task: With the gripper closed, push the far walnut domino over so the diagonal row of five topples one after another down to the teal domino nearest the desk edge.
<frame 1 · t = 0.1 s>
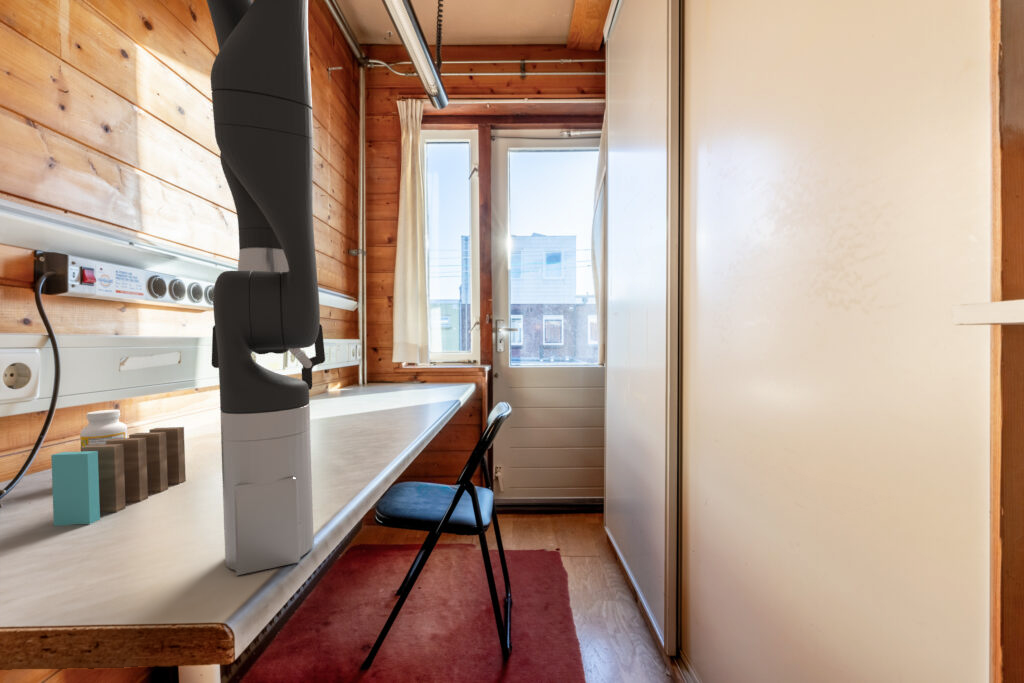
hand: (272, 395, 65), 17 cm above the table, tool pointing down, fingers open, 8 cm apart
domino 1: (168, 483, 81), on the table
domino 3: (128, 500, 73), on the table
supplement bottle: (106, 479, 85), on the table
domino 2: (149, 491, 77), on the table
domino 4: (104, 510, 68), on the table
domino 5: (77, 522, 64), on the table
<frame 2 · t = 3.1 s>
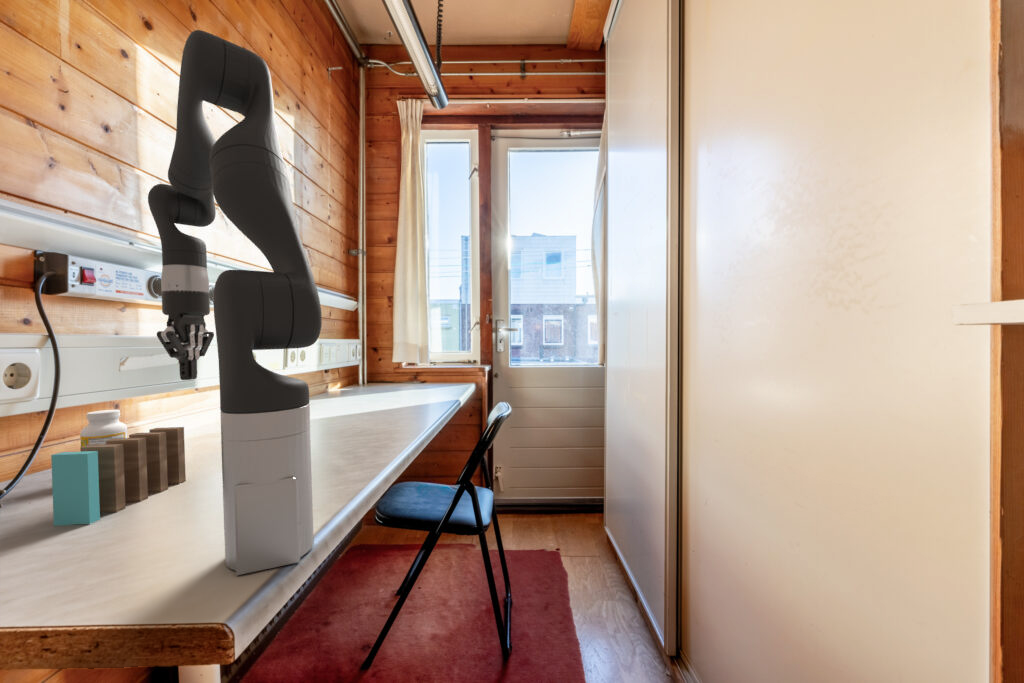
hand: (188, 379, 87), 18 cm above the table, tool pointing down, fingers closed
nothing on the table moved.
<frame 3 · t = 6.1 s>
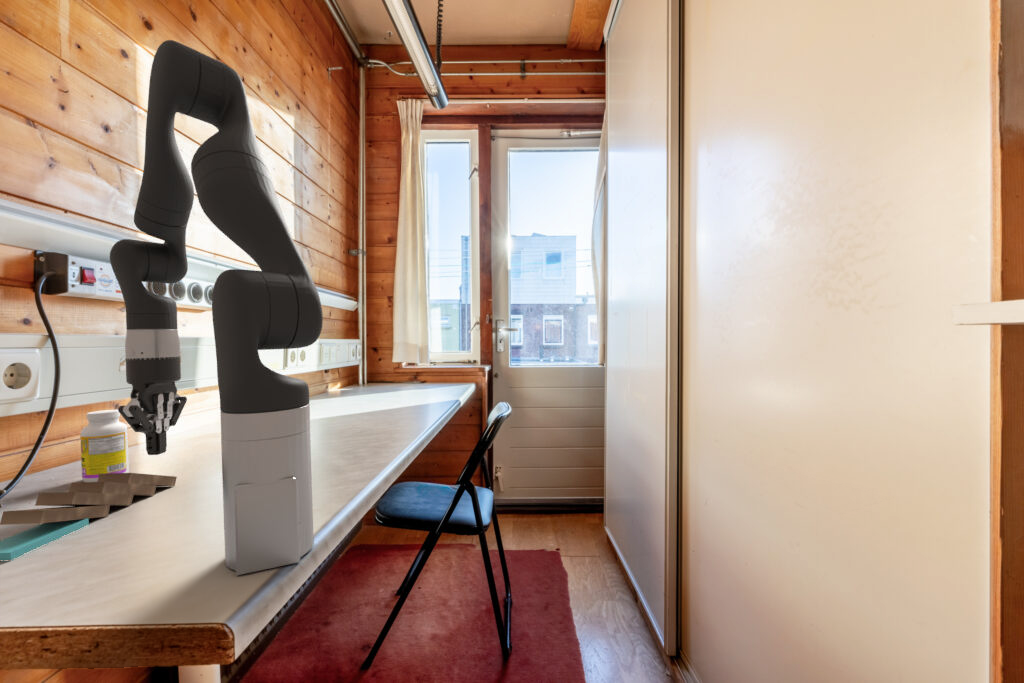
hand: (156, 453, 79), 6 cm above the table, tool pointing down, fingers closed
domino 1: (161, 481, 80), point 1 cm above the table, tilted 69°, touching domino 2
domino 3: (116, 500, 70), point 1 cm above the table, tilted 69°, touching domino 2, domino 4
domino 2: (140, 490, 75), point 1 cm above the table, tilted 69°, touching domino 1, domino 3
domino 4: (91, 511, 66), point 1 cm above the table, tilted 73°, touching domino 3
domino 5: (70, 524, 63), on the table, tilted 90°
everything else where it was.
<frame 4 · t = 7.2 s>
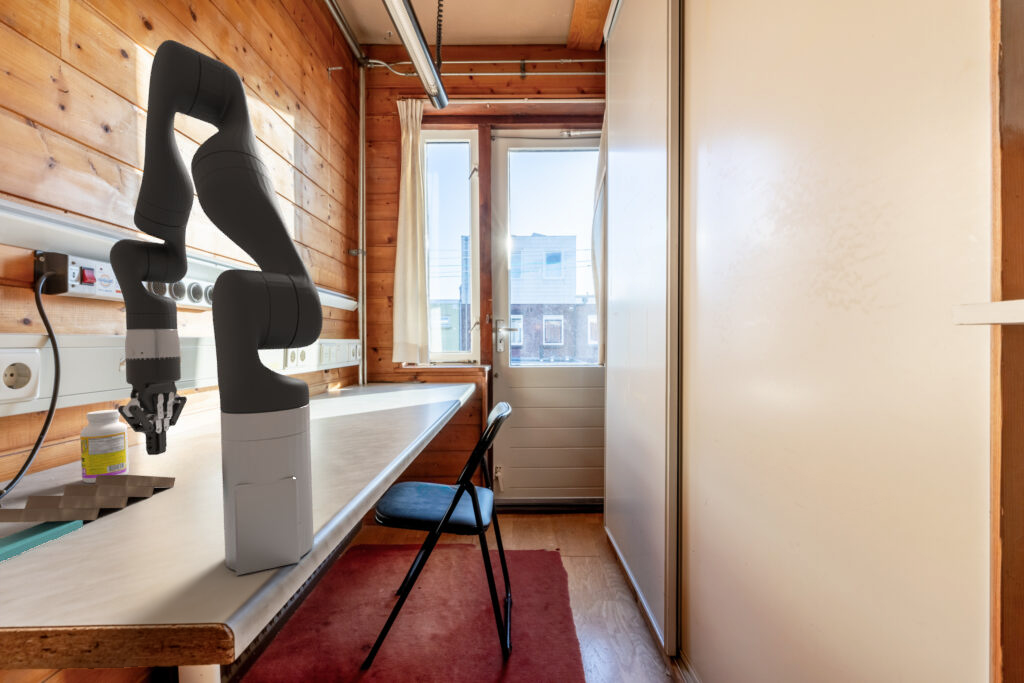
hand: (156, 453, 79), 6 cm above the table, tool pointing down, fingers closed
domino 4: (82, 513, 65), point 1 cm above the table, tilted 70°, touching domino 3
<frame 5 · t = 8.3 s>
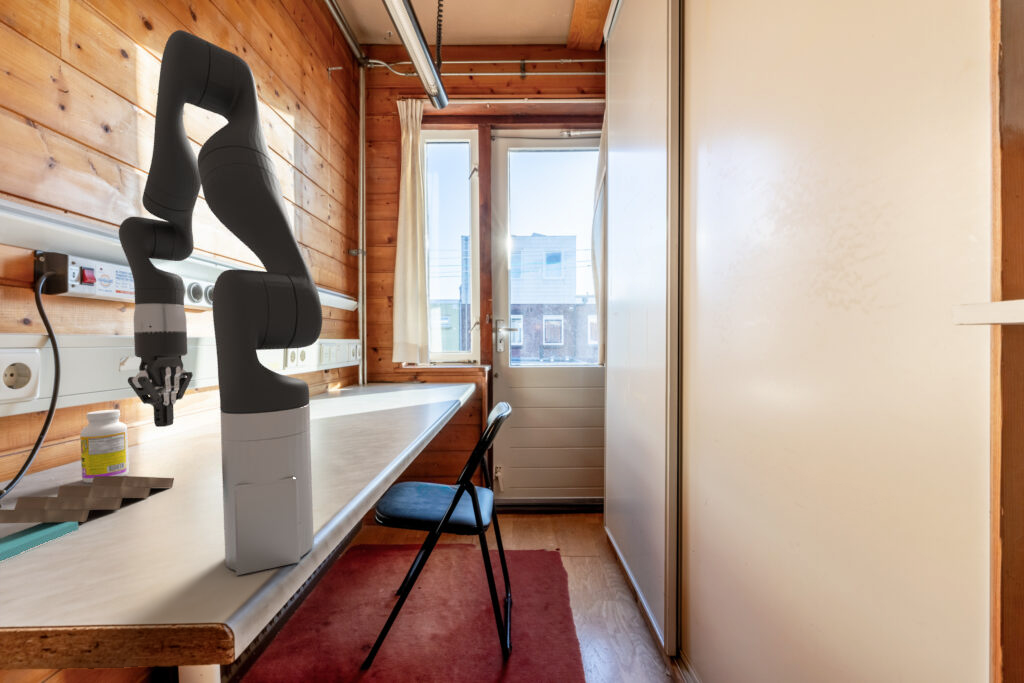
hand: (164, 425, 81), 10 cm above the table, tool pointing down, fingers closed
domino 3: (107, 503, 69), point 1 cm above the table, tilted 69°, touching domino 2, domino 4
domino 4: (73, 515, 64), point 1 cm above the table, tilted 69°, touching domino 3, domino 5
domino 5: (61, 527, 61), on the table, tilted 90°, touching domino 4
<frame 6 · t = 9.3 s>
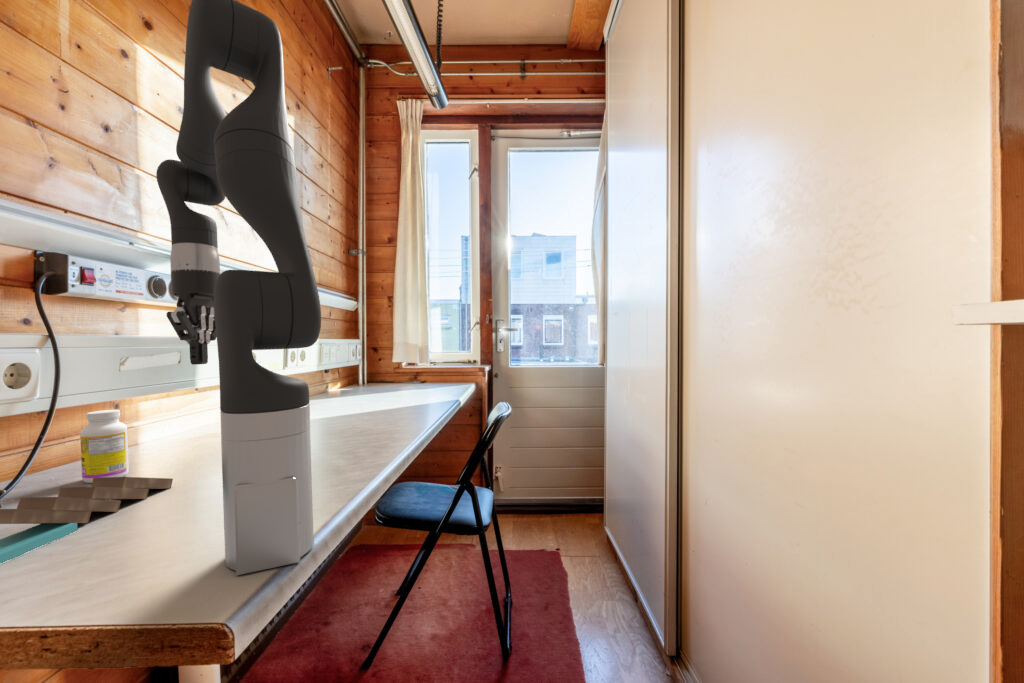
hand: (199, 364, 83), 21 cm above the table, tool pointing down, fingers closed
domino 3: (103, 506, 68), point 1 cm above the table, tilted 67°, touching domino 4
domino 2: (132, 494, 73), point 1 cm above the table, tilted 70°, touching domino 1
domino 4: (73, 517, 63), point 1 cm above the table, tilted 67°, touching domino 3, domino 5
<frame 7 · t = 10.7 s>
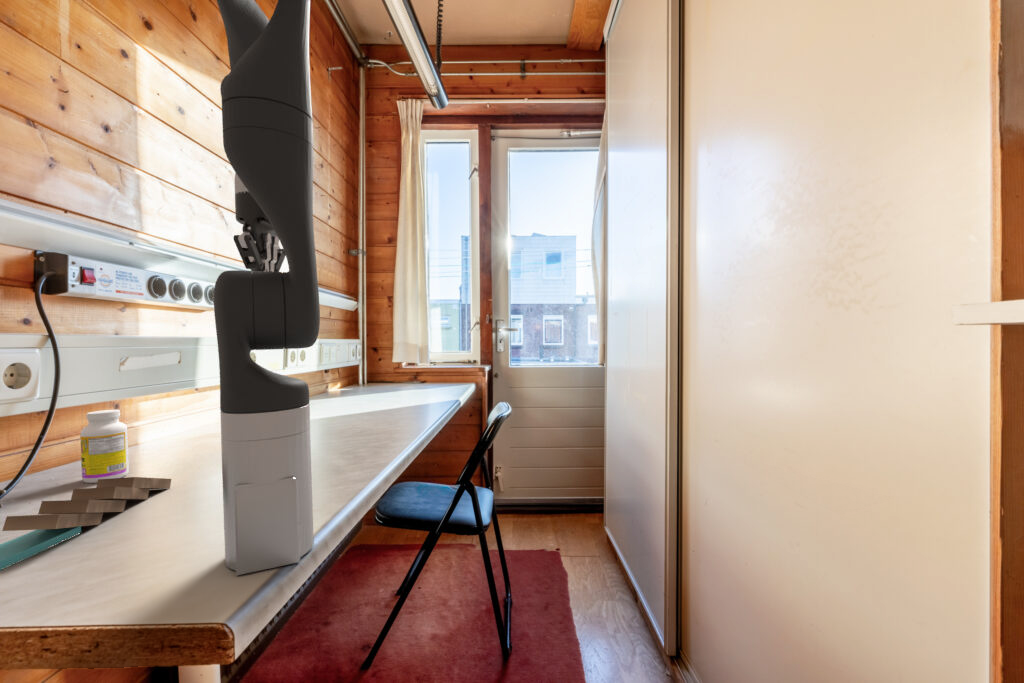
hand: (263, 296, 77), 33 cm above the table, tool pointing down, fingers closed
domino 3: (105, 506, 67), point 1 cm above the table, tilted 71°, touching domino 2, domino 4
domino 2: (130, 495, 73), point 1 cm above the table, tilted 71°, touching domino 1, domino 3
domino 4: (80, 518, 62), point 1 cm above the table, tilted 72°, touching domino 3
domino 5: (62, 532, 60), on the table, tilted 90°
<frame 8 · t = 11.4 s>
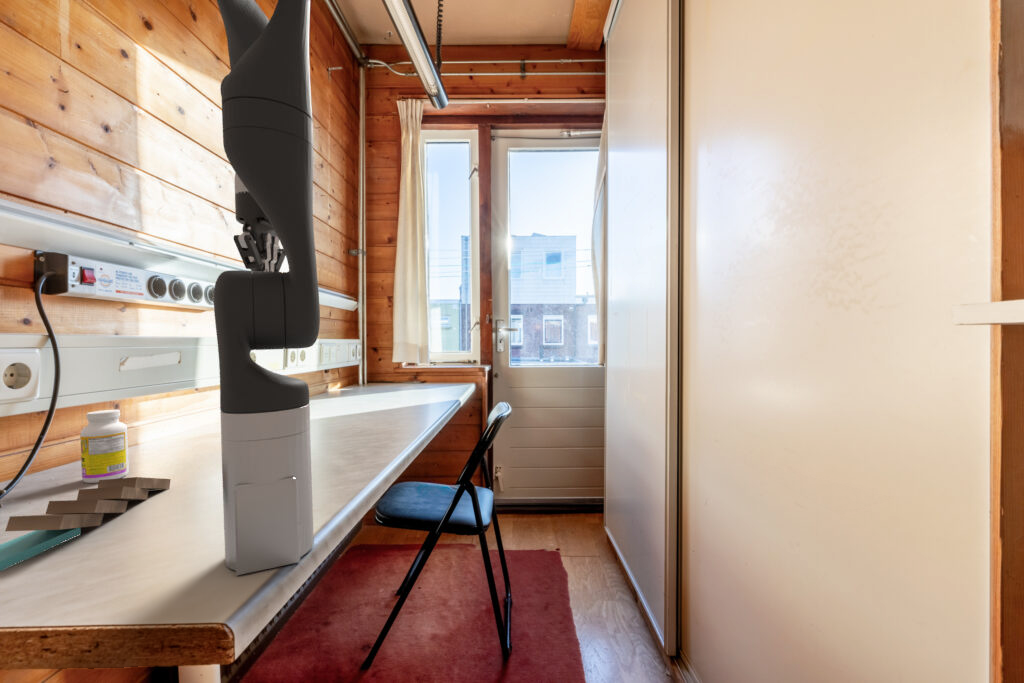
hand: (263, 296, 77), 33 cm above the table, tool pointing down, fingers closed
domino 3: (106, 507, 67), point 1 cm above the table, tilted 71°, touching domino 2, domino 4
domino 4: (80, 519, 62), point 1 cm above the table, tilted 72°, touching domino 3, domino 5
domino 5: (62, 532, 60), on the table, tilted 90°, touching domino 4
at the end: domino 1 tilted 72°; domino 5 tilted 90° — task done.
